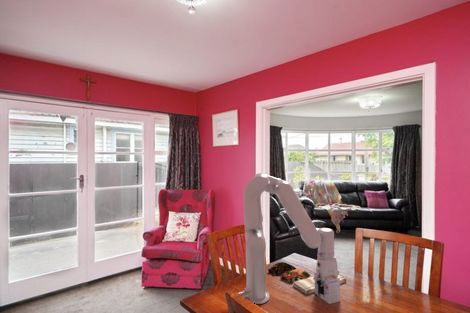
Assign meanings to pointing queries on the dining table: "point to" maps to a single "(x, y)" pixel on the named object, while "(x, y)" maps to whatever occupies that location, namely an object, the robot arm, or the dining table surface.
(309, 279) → the plank
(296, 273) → the food
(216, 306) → the dining table surface
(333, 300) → the light bulb box
